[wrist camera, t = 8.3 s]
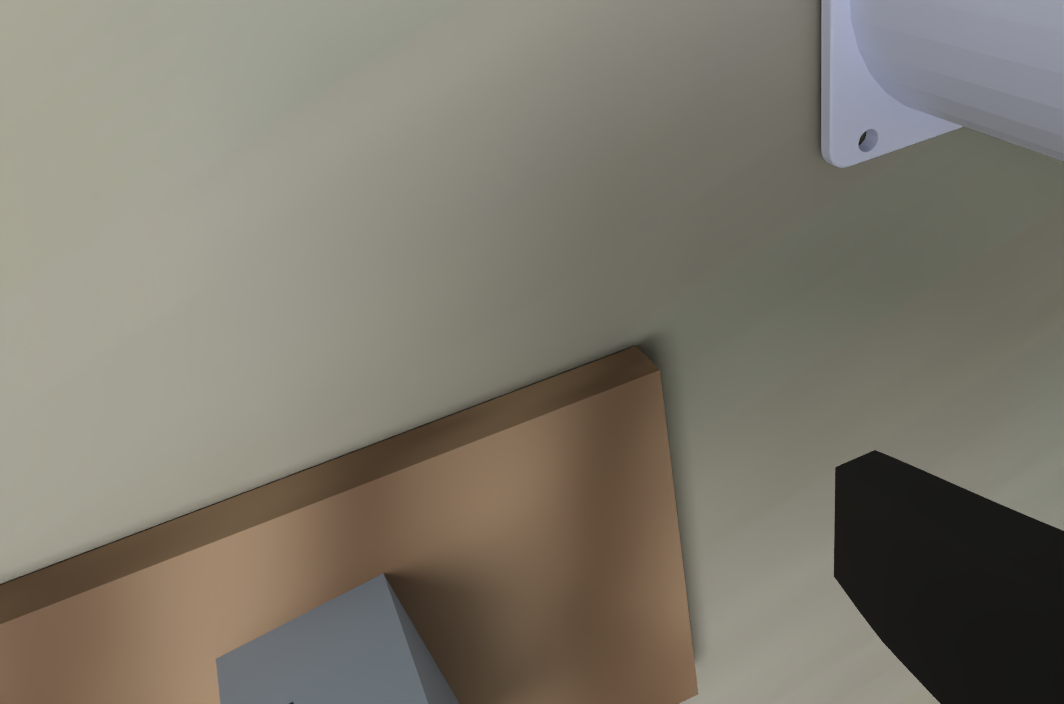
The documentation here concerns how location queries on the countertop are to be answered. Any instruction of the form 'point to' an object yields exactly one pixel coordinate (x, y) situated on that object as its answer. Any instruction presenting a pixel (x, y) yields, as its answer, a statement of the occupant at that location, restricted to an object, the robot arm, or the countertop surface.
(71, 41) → the countertop surface
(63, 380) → the countertop surface
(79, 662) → the shelf board
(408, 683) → the carton
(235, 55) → the countertop surface
